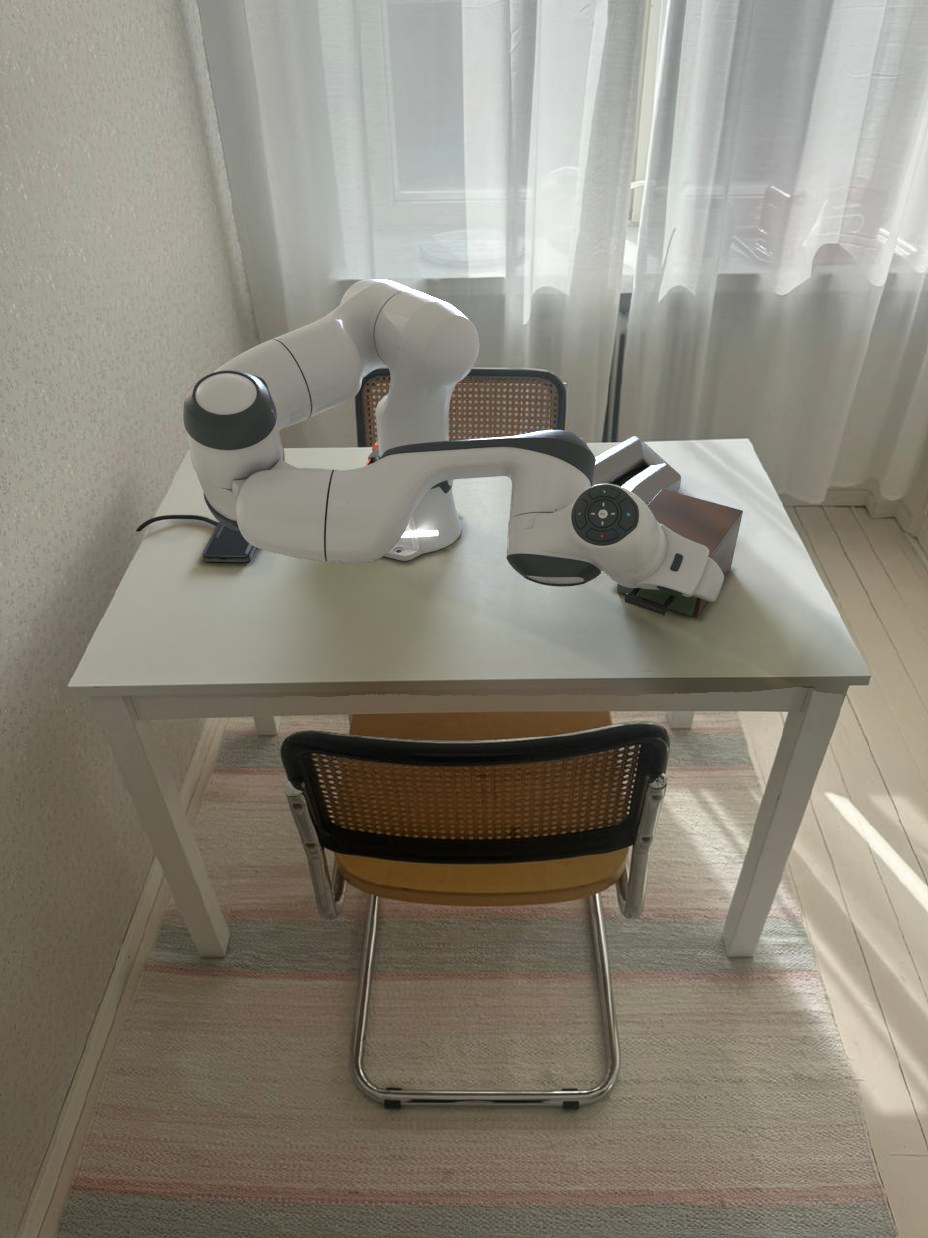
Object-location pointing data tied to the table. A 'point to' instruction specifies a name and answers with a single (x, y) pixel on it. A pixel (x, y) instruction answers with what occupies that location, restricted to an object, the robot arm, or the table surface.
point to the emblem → (635, 469)
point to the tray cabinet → (700, 527)
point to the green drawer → (658, 600)
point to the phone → (227, 546)
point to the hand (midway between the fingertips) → (655, 576)
